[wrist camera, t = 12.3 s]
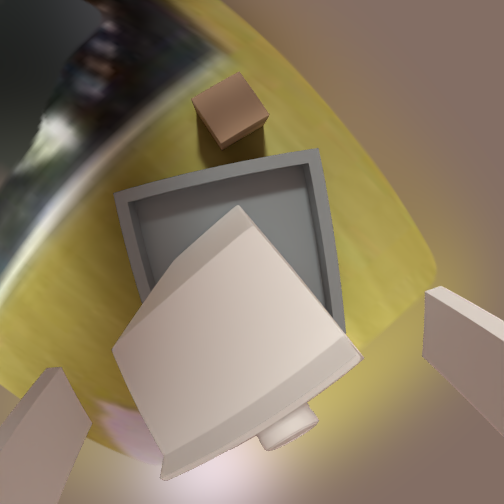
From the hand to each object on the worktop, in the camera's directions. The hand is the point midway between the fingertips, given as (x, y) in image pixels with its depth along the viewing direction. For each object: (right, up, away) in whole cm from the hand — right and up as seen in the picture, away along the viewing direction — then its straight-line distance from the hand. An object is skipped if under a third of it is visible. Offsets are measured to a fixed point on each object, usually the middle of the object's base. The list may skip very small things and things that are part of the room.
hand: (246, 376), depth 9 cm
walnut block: (-2, +15, +15) cm, 21 cm away
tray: (-1, +3, +17) cm, 17 cm away
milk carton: (-1, +3, +16) cm, 17 cm away
